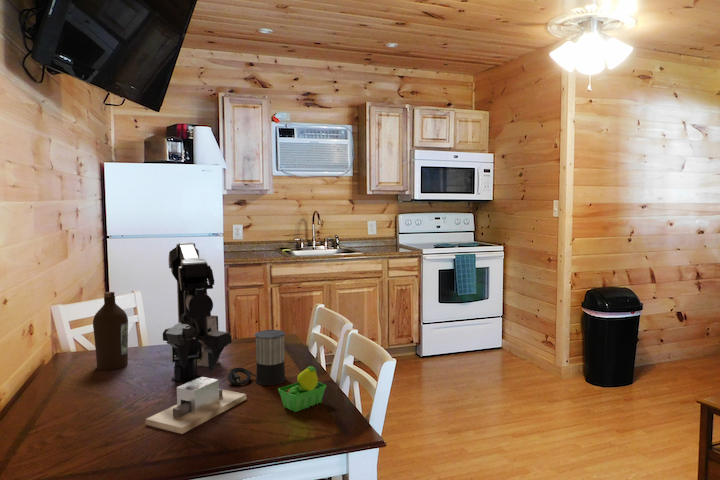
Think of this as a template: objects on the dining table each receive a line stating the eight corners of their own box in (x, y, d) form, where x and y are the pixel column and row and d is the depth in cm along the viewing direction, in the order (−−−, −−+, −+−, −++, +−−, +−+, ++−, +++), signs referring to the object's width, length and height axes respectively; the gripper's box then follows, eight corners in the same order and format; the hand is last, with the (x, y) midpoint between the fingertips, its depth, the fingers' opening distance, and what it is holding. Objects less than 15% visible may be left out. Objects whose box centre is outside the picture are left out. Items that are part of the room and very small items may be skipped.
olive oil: (91, 372, 170) (87, 296, 168) (99, 362, 181) (96, 290, 179) (126, 369, 172) (122, 294, 171) (132, 360, 183) (129, 289, 181)
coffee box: (220, 361, 180) (219, 315, 179) (209, 367, 174) (207, 319, 173) (198, 359, 183) (196, 313, 182) (186, 365, 177) (184, 317, 176)
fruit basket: (310, 395, 148) (309, 356, 147) (330, 404, 142) (330, 363, 141) (277, 407, 140) (276, 365, 139) (297, 416, 134) (296, 373, 133)
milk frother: (292, 380, 161) (291, 332, 160) (248, 394, 150) (247, 343, 149) (265, 370, 171) (264, 325, 170) (222, 382, 160) (220, 334, 159)
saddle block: (202, 398, 143) (201, 376, 142) (219, 401, 140) (218, 379, 140) (177, 410, 135) (176, 387, 134) (195, 414, 132) (194, 390, 132)
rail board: (212, 392, 151) (212, 380, 151) (246, 399, 146) (246, 387, 145) (145, 424, 129) (145, 411, 129) (182, 434, 124) (181, 419, 124)
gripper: (144, 312, 132) (147, 373, 133) (201, 319, 124) (203, 383, 125) (177, 304, 142) (179, 361, 143) (232, 310, 134) (233, 370, 135)
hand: (197, 368), depth 137 cm, fingers open, 9 cm apart
